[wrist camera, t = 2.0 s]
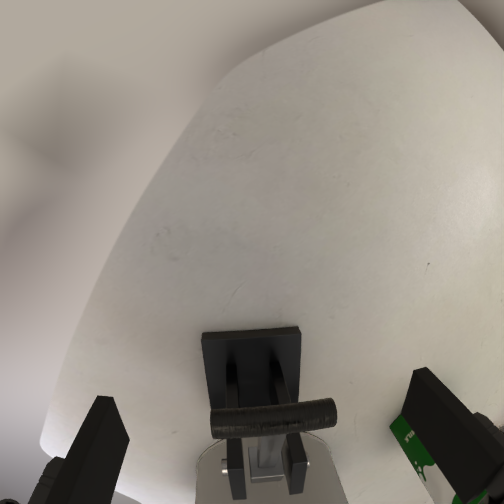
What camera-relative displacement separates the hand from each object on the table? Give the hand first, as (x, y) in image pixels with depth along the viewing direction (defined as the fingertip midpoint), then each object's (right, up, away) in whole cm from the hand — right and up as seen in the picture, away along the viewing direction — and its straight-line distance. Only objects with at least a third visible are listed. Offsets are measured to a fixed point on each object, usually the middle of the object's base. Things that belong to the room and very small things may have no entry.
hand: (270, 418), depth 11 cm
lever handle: (0, -3, +4) cm, 5 cm away
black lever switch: (-1, -5, +18) cm, 18 cm away
